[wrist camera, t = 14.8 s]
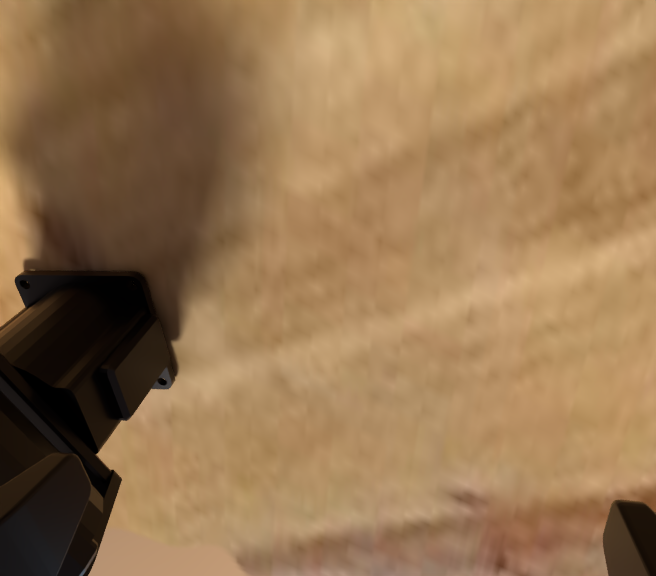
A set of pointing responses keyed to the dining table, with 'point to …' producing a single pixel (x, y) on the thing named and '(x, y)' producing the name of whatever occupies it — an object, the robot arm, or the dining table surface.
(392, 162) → the dining table surface
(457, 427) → the dining table surface
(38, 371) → the robot arm
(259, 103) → the dining table surface
